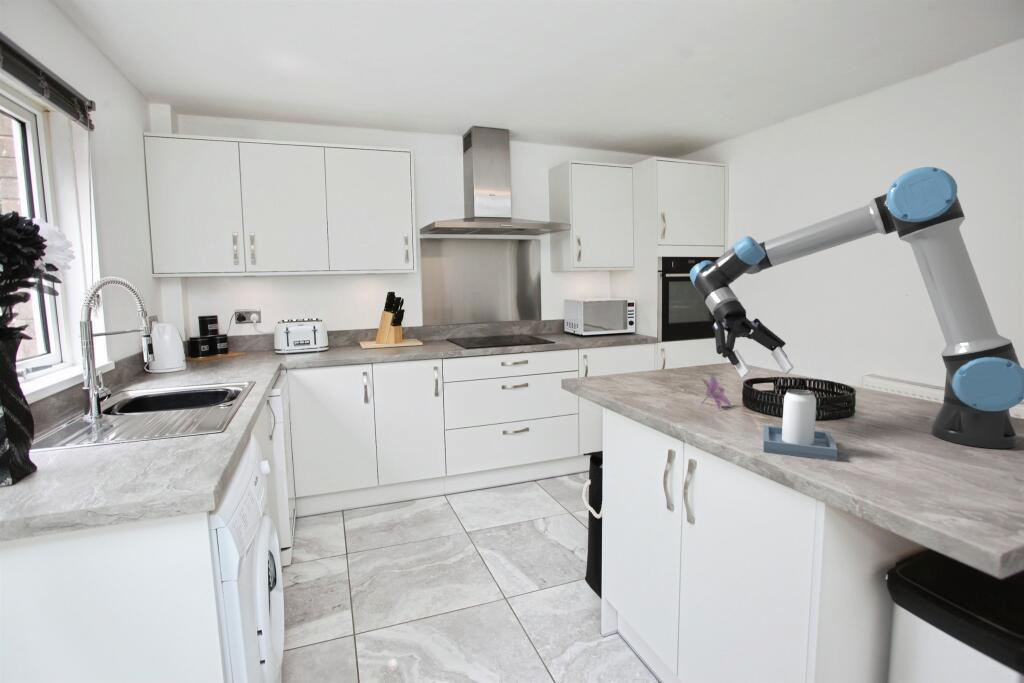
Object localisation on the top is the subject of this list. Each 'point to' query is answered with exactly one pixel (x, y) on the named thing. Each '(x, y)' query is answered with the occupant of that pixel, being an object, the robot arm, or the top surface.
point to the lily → (715, 392)
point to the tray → (800, 445)
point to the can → (799, 417)
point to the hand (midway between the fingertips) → (768, 372)
